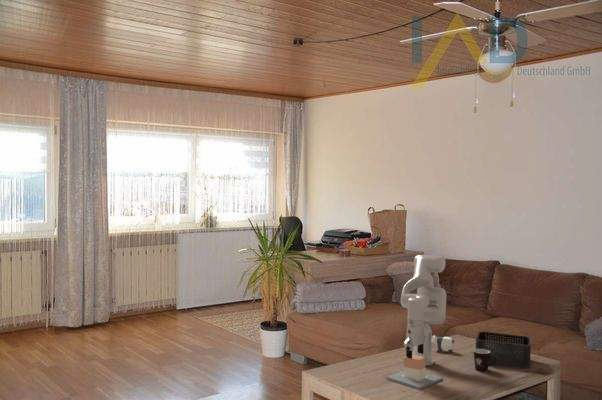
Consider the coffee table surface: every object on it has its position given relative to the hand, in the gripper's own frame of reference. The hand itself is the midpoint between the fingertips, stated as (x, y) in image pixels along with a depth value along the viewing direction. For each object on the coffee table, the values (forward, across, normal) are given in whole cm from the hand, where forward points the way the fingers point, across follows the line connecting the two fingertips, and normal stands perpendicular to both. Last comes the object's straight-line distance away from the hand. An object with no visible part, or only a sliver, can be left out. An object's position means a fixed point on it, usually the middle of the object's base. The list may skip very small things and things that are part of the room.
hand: (414, 355), depth 291 cm
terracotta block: (+6, -1, 0) cm, 6 cm away
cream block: (+10, -1, 0) cm, 11 cm away
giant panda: (+14, +51, +16) cm, 55 cm away
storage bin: (+14, +60, -17) cm, 64 cm away
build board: (+12, -1, -1) cm, 12 cm away
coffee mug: (+13, +37, -18) cm, 43 cm away
